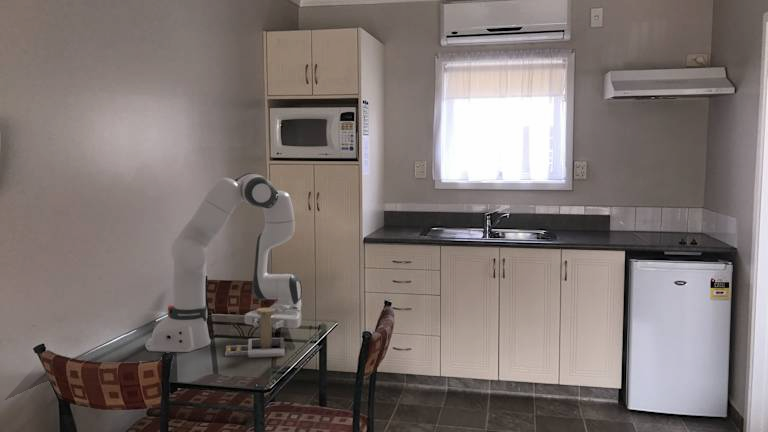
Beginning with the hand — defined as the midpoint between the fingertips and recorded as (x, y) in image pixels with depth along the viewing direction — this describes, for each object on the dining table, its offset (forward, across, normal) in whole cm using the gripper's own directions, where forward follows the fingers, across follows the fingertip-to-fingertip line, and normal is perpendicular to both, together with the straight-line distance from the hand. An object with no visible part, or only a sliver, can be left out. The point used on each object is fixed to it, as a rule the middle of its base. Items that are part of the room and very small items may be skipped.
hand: (265, 325), depth 231 cm
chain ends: (+1, -4, +10) cm, 10 cm away
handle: (-1, 0, +10) cm, 10 cm away
